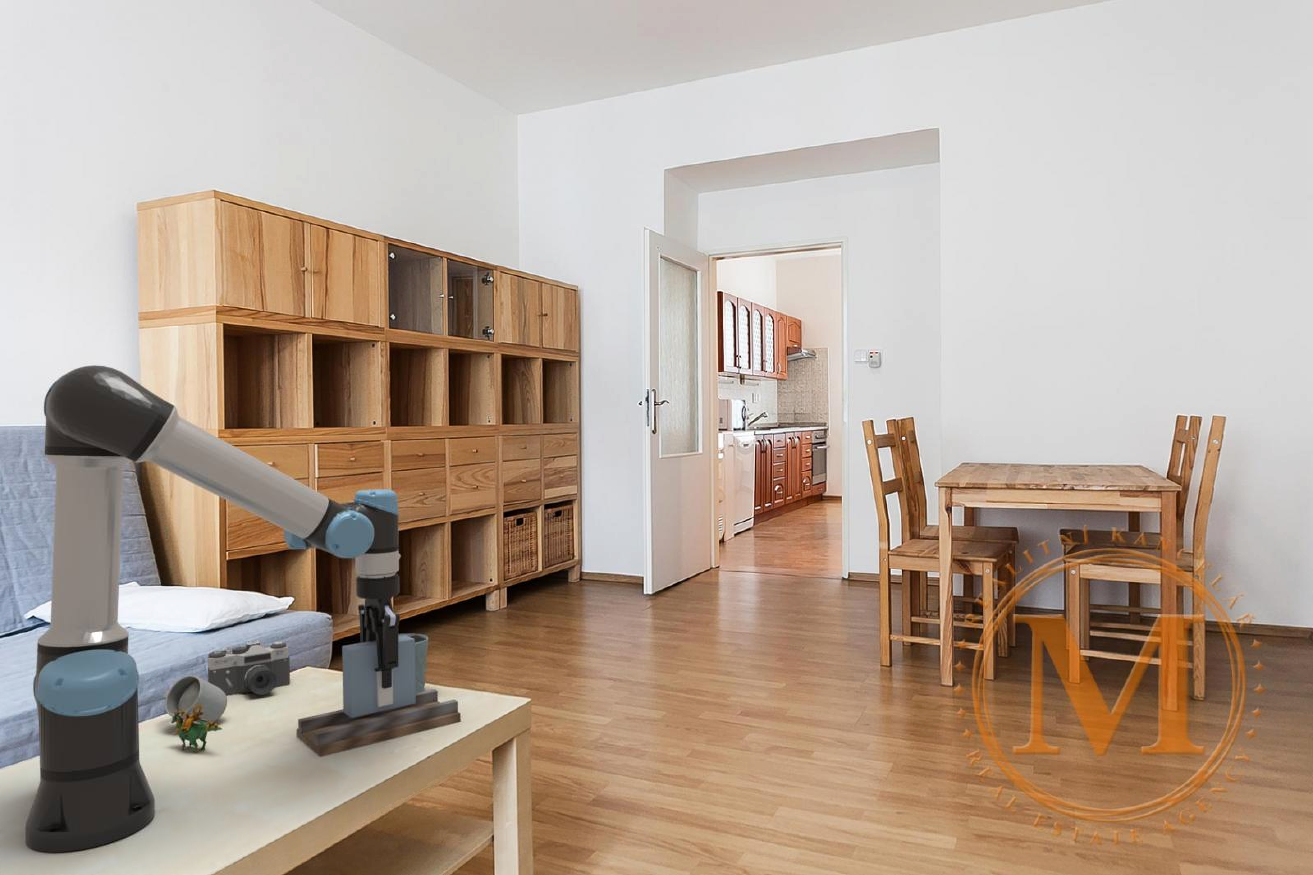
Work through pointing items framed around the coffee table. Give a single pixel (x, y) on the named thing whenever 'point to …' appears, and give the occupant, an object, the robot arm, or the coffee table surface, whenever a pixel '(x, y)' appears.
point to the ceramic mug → (195, 698)
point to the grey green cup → (419, 660)
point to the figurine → (193, 728)
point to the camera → (250, 668)
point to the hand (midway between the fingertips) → (379, 701)
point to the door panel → (364, 679)
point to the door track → (375, 724)
